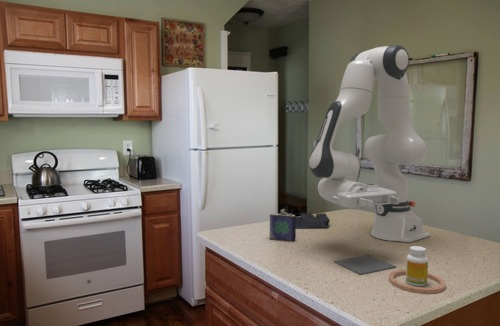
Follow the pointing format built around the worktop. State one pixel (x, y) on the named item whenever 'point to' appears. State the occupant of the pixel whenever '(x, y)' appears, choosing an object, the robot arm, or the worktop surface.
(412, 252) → the supplement bottle
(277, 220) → the flask
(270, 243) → the worktop surface
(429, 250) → the worktop surface
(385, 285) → the worktop surface
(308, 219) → the dark slate chunk
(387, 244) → the worktop surface
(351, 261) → the mat
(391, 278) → the segmented terracotta ring
